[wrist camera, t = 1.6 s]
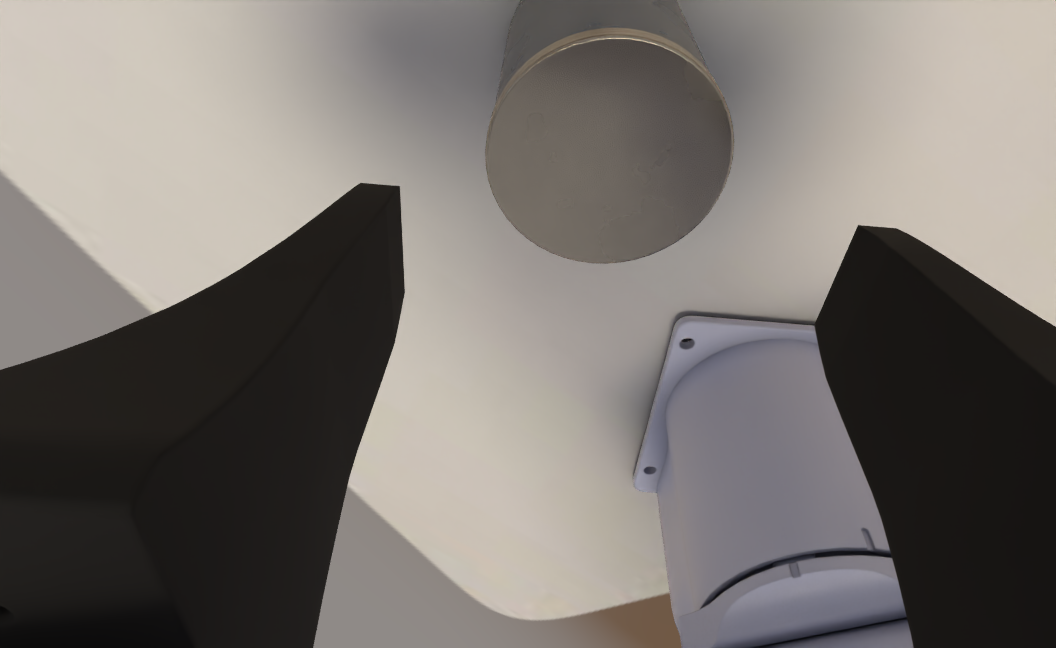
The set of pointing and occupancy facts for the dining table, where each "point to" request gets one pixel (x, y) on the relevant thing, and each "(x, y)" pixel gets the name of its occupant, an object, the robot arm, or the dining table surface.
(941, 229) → the dining table surface
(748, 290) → the dining table surface
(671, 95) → the tin
